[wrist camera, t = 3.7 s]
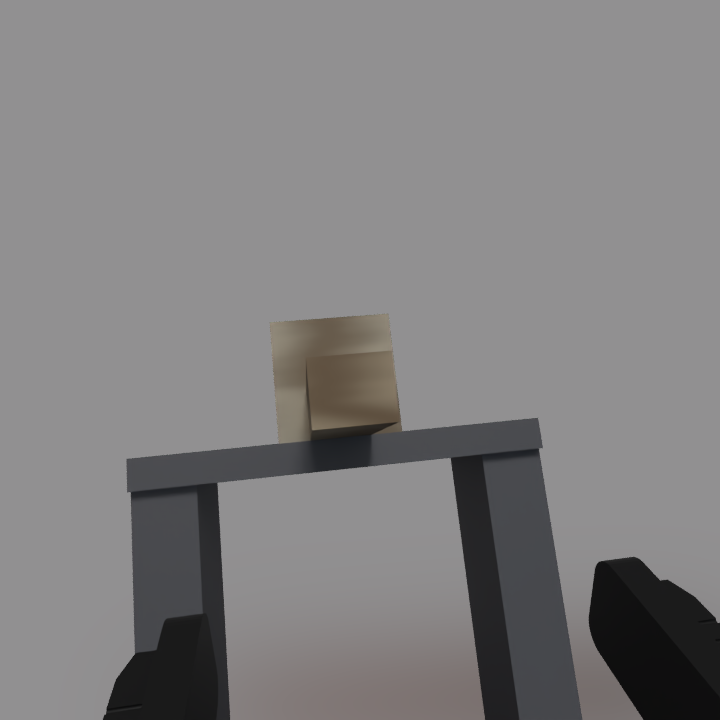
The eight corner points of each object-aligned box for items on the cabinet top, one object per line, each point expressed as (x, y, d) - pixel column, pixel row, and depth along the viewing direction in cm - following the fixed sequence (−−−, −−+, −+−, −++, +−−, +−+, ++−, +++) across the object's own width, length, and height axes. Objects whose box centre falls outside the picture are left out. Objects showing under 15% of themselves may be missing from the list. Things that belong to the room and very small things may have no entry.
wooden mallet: (384, 437, 32) (374, 340, 33) (442, 417, 19) (421, 253, 20) (283, 447, 32) (276, 347, 33) (267, 434, 18) (254, 263, 19)
